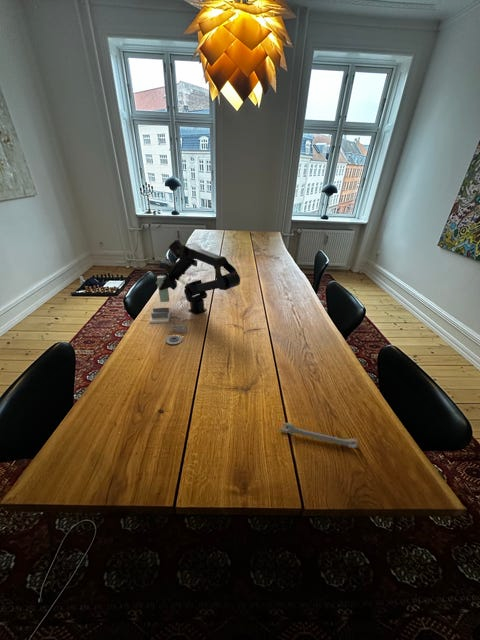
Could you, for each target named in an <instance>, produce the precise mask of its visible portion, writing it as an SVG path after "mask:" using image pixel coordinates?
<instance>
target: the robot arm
mask: <svg viewBox="0 0 480 640" xmlns="http://www.w3.org/2000/svg"><path fill="white" fill-rule="evenodd" d="M168 249H169V251H170V253H172V255H173V256H174V258H175V259H176V260H177V259H178V260H177V261H175V262H174V263H173V262H171V261H169V260H167V259H164V258H161V259H160V261H159V262H158V263H159V264H158V265H157V266H158V269H161V270H164V275H163V276H164V278H163V283H162V285H161V287H160V288H158V290H159V289H160V290H164V289H167V288H168V289H169V288H170V289H172V290H173V291H174V290H175V289H177V287H178V281H179V280H180V279H181V277H182V276H183V275H185V274H186V272H187V271H188V270H189V269H190V268H191V267H192V266H193V267H196V268H197V267H198V261H200V262H201V263H205V264H207V265H209V266H212V267H213V268H214V271H215V273H214V276H215V279H214V280H209V281H205V282H202V279H198V280H197V279H196V280H194V281H191V282H187V283H186V284H185V286H184V289H183V290H184V294H185V298H186V301H187V302H188V303H189V306H190V308H188V309H187V310H188V312H191V313H193V314H194V315H197V316H198V315H199V314H201V313H204V312H206V311H207V308H205V299H207V298H208V294H207V291H211V290H212V291H213V290H218V289H219V290H221V291H227V290H230V289H232V288H235V287H237V286H238V287H239V285H240V283H241V277H240V275H239V273H238V271H237V269H236V268H235V266H233V265H232V264H231V263H229V261H228V259H227V258H226V257H225V256H222V255H220V254H219V255H218V254H216V253H213V252H210V251H208V250H205V249H203V248H202V246H201V245H199V244H198V243H195V242H194V243H193V242H192V243H189V244H185V245H183V244H182V243H181V241H180V239H174V241H172V243H170V245H169V246H168ZM222 268H223V269H224V270H226V271H227V272H228V273H226V274H222Z"/></svg>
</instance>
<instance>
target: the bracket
mask: <svg viewBox="0 0 480 640" xmlns="http://www.w3.org/2000/svg"><path fill="white" fill-rule="evenodd" d="M170 327H171V328H170V329H171V332H175V331H176V332H177V333H188V332H187V330H188V329H187V325H180V324H171V325H170ZM184 339H185V337H183V338H181V337H180V336H179V337H178V336H176V335H175V336H173V335H171V336H170V335H169V334H168V336H167V337H166V339H165V343H166V344H170V345H177V344H181V343H182V342H183V340H184ZM181 341H182V342H181Z"/></svg>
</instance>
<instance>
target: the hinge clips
mask: <svg viewBox="0 0 480 640" xmlns="http://www.w3.org/2000/svg"><path fill="white" fill-rule="evenodd" d="M171 313H172V311H171V309H169V307H152V312H151V313H150V315H151V316H150V320H149V323H150V324H157V323H158V324H159V323H161V324H162V323H170V317H171Z"/></svg>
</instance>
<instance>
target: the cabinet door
mask: <svg viewBox="0 0 480 640" xmlns="http://www.w3.org/2000/svg"><path fill="white" fill-rule="evenodd" d="M164 276H165V275H157V277H156V279H157V280H156V281H155V284H156V285H157V288H158V296H159V302H160V303H169V302H170V293H169V288H167V289H164V290H160V289H159V288H160V287H161V285H162V283H163V278H164Z"/></svg>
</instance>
